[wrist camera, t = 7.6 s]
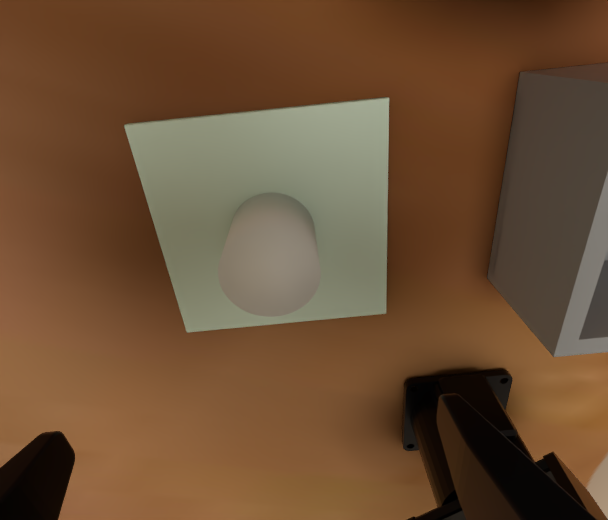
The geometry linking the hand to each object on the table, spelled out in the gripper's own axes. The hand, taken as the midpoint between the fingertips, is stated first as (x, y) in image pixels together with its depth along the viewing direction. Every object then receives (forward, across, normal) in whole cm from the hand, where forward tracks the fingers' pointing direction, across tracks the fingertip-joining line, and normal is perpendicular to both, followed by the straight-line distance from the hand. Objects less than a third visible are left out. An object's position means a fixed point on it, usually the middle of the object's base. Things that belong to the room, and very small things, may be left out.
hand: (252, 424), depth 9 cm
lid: (+12, 0, 0) cm, 12 cm away
